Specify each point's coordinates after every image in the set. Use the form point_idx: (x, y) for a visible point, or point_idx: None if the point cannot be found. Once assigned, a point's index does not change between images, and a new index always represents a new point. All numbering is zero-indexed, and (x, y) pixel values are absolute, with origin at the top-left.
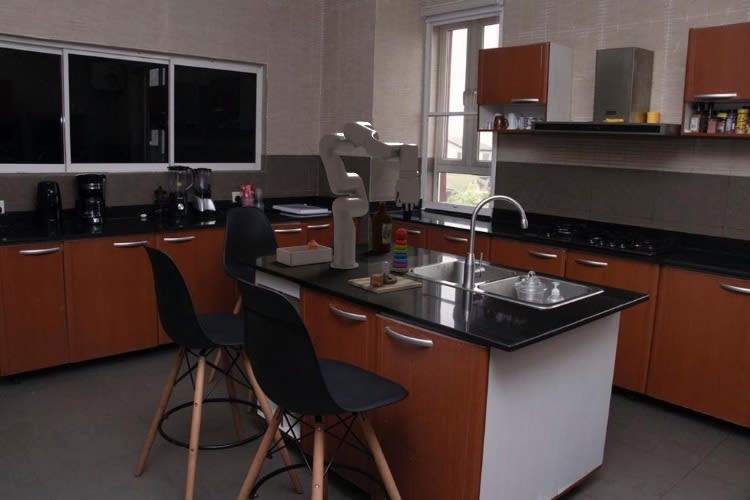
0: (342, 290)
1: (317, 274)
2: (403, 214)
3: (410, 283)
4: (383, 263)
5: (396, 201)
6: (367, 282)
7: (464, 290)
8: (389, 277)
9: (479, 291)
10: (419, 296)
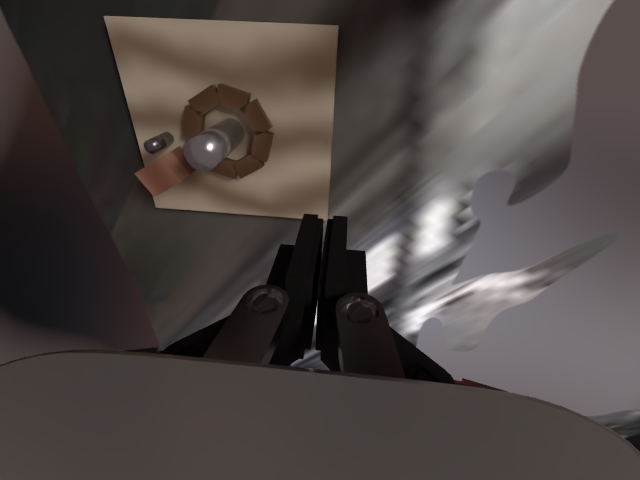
0: (63, 109)
1: None
2: (273, 271)
3: (294, 200)
4: (187, 158)
5: (54, 366)
6: (165, 101)
7: (389, 302)
8: (252, 129)
9: (409, 325)
10: (247, 279)
